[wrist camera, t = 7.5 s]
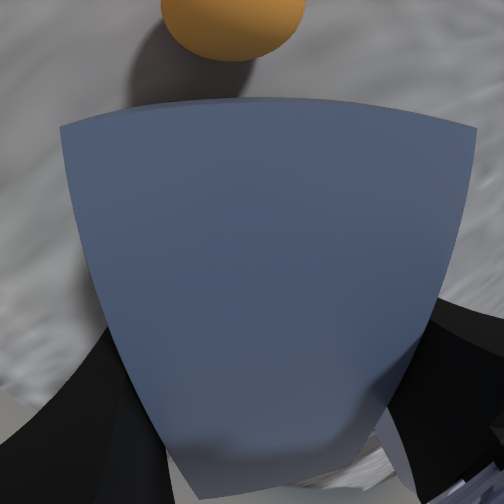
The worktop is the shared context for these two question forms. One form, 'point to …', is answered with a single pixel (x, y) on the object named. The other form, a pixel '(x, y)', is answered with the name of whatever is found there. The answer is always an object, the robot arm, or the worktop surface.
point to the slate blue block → (266, 269)
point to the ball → (232, 26)
